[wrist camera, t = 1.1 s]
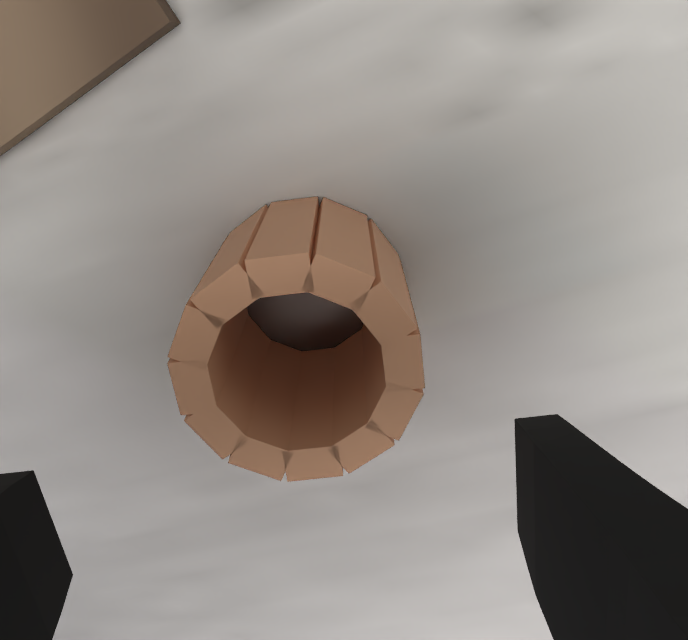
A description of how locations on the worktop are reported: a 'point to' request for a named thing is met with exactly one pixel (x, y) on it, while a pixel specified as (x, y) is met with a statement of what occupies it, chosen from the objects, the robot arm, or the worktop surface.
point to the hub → (293, 365)
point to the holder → (66, 53)
